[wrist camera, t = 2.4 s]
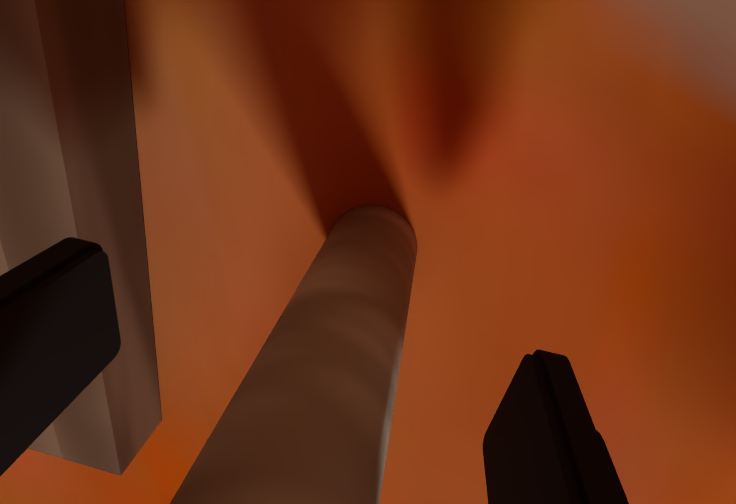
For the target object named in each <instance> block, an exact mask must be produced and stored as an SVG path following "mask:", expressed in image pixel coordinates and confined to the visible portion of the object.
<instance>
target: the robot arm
mask: <svg viewBox="0 0 736 504" xmlns="http://www.w3.org/2000/svg"><path fill="white" fill-rule="evenodd" d="M120 346H121V338H120V331H119V325H118V318H117V311H116V305H115V298H114V292H113V285H112V278H111V272H110V265H109V258H108V255H107V254H106V252H103V249H102V247H101V246H100V245H99V244H97V243H95V242H91V241H86V240H82V239H78V238H74V237H68V238H65V239H63V240H61V241H60V242H58V243H56V244H54V245H53V246H51V247H49V248H47V249H46V250H44V251H42V252H40V253H39V254H37V255H35V256H34V257H32V258H30V259H28V260H27V261H25V262H23V263H21V264H20V265H18V266H16V267H15V268H13V269H11V270H9V271H8V272H6V273H4V274H2V275H1V276H0V476H1V475H2V474H3V473H4V472H5V471H6V470H7V469H8V468H9V467H10V466H11V465H12V464H13V463H14V462H15V461H16V459H17V458H18V457H19V456H20V455H21V454H22V453H23V452H24V451H25V450H26V449H27V448H28V447H29V446H30V445H31V444H32V443H33V442H34V441H35V440H36V439H37V438H38V437H39V436H40V435H41V434H42V433H43V432H44V431H45V429H46V428H47V427H48V426H49V425H50V424H51V423H52V422H53V421H54V420H55V419H56V418H57V417H58V416H59V415H60V414H61V413H62V412H63V411H64V410H65V409H66V408H67V407H68V406H69V405H70V404H71V403H72V402H73V401H74V399H75V398H76V397H77V396H78V395H79V394H80V393H81V392H82V391H83V390H84V389H85V388H86V387H87V386H88V385H89V384H90V383H91V382H92V381H93V380H94V379H95V378H96V377H97V376H98V375H99V374H100V373H101V372H102V371H103V369H104V368H105V367H106V366H107V365H108V364H109V363H110V362H111V361H112V360H113V359H114V358H115V357H116V356H117V354H118V352H119V350H120ZM483 456H484V466H485V475H486V485H487V495H488V504H629V503H628V500H627V498H626V495H625V493H624V490H623V488H622V485H621V483H620V480H619V477H618V475H617V472H616V470H615V467H614V465H613V462H612V460H611V457H610V455H609V452H608V450H607V447H606V444H605V442H604V440H603V438H602V436H601V434H600V433H599V432H598V431H597V430H596V429H595V427H594V424H593V421H592V419H591V416H590V414H589V411H588V408H587V406H586V403H585V401H584V398H583V395H582V393H581V390H580V388H579V385H578V382H577V380H576V377H575V375H574V372H573V369H572V367H571V364H570V362H569V360H568V358H567V357H566V356H564V355H560V354H555V353H551V352H547V351H543V350H536V351H535V352H534V353H533V355H530V354H526V355H525V356H524V358H523V359H522V361H521V363H520V365H519V367H518V369H517V371H516V373H515V375H514V377H513V379H512V381H511V383H510V385H509V387H508V389H507V391H506V393H505V395H504V397H503V399H502V401H501V403H500V405H499V407H498V409H497V411H496V413H495V415H494V417H493V419H492V421H491V423H490V425H489V427H488V429H487V431H486V433H485V436H484V441H483Z"/></svg>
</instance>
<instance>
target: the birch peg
mask: <svg viewBox="0 0 736 504" xmlns="http://www.w3.org/2000/svg"><path fill="white" fill-rule="evenodd" d="M416 255H417V240H416V236H415V233H414V231H413V229H412V227H411V226H410V224H409V223H408V222H407V221H406V220H405V219H404V218H403V217H402V216H401V215H400V214H398V213H397V212H395V211H393V210H391V209H389V208H386V207H383V206H378V205H363V206H358V207H355V208H353V209H351V210H349V211H347V212H346V213H344V214H343V215H342V216H341V217H340V218H339V219H338V220H337V222H336V223H335V225H334V227H333V228H332V230H331V232H330V233H329V235H328V237H327V239H326V240H325V242H324V244H323V245H322V247H321V249H320V250H319V252H318V254H317V255H316V257H315V259H314V261H313V262H312V264H311V266H310V267H309V269H308V271H307V272H306V274H305V276H304V278H303V279H302V281H301V283H300V284H299V286H298V288H297V289H296V291H295V293H294V294H293V296H292V298H291V300H290V301H289V303H288V305H287V306H286V308H285V310H284V311H283V313H282V315H281V316H280V318H279V320H278V322H277V323H276V325H275V327H274V328H273V330H272V332H271V333H270V335H269V337H268V338H267V340H266V342H265V344H264V345H263V347H262V349H261V350H260V352H259V354H258V355H257V357H256V359H255V361H254V362H253V364H252V366H251V367H250V369H249V371H248V372H247V374H246V376H245V377H244V379H243V381H242V383H241V384H240V386H239V388H238V389H237V391H236V393H235V394H234V396H233V398H232V399H231V401H230V403H229V405H228V406H227V408H226V410H225V411H224V413H223V415H222V416H221V418H220V420H219V421H218V423H217V425H216V427H215V428H214V430H213V432H212V433H211V435H210V437H209V438H208V440H207V442H206V444H205V445H204V447H203V449H202V450H201V452H200V454H199V455H198V457H197V459H196V460H195V462H194V464H193V466H192V467H191V469H190V471H189V472H188V474H187V476H186V477H185V479H184V481H183V482H182V484H181V486H180V488H179V489H178V491H177V493H176V494H175V496H174V498H173V499H172V501H171V503H170V504H379V502H380V495H381V488H382V482H383V475H384V468H385V462H386V455H387V448H388V442H389V435H390V428H391V422H392V415H393V408H394V402H395V395H396V388H397V382H398V375H399V368H400V362H401V355H402V348H403V342H404V335H405V328H406V322H407V315H408V308H409V302H410V295H411V288H412V282H413V275H414V268H415V262H416Z"/></svg>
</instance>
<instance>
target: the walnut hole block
mask: <svg viewBox="0 0 736 504" xmlns="http://www.w3.org/2000/svg"><path fill="white" fill-rule="evenodd" d="M68 237H74V238H78V239H82V240H86V241H91V242H95V243H97V244H99V245H100V246H101V247H102V249H103V252H106V254H107V255H108V258H109V265H110V272H111V278H112V285H113V292H114V298H115V305H116V311H117V318H118V325H119V331H120V338H121V346H120V350H119V352H118V354H117V356H116V357H115V358H114V359H113V360H112V361H111V362H110V363H109V364H108V365H107V366H106V367H105V368H104V369H103V371H102V372H101V373H100V374H99V375H98V376H97V377H96V378H95V379H94V380H93V381H92V382H91V383H90V384H89V385H88V386H87V387H86V388H85V389H84V390H83V391H82V392H81V393H80V394H79V395H78V396H77V397H76V398H75V399H74V401H73V402H72V403H71V404H70V405H69V406H68V407H67V408H66V409H65V410H64V411H63V412H62V413H61V414H60V415H59V416H58V417H57V418H56V419H55V420H54V421H53V422H52V423H51V424H50V425H49V426H48V427H47V428H46V429H45V431H44V432H43V433H42V434H41V435H40V436H39V437H38V438H37V439H36V440H35V441H34V442H33V443H32V444H31V445H30V446H29V447H28V448H29V449H32V450H35V451H39V452H42V453H46V454H49V455H52V456H56V457H59V458H63V459H66V460H69V461H73V462H76V463H80V464H83V465H86V466H90V467H93V468H97V469H100V470H103V471H107V472H110V473H114V474H117V475H120V476H121V475H122V473H123V472H124V471H125V469H126V468H127V467H128V465H129V464H130V462H131V461H132V460H133V458H134V457H135V456H136V454H137V453H138V452H139V450H140V449H141V448H142V446H143V445H144V443H145V442H146V441H147V439H148V438H149V437H150V435H151V434H152V433H153V431H154V430H155V429H156V427H157V426H158V425H159V423H160V422H161V420H162V417H161V406H160V395H159V384H158V373H157V362H156V351H155V340H154V329H153V318H152V307H151V296H150V285H149V274H148V263H147V252H146V241H145V230H144V219H143V208H142V197H141V186H140V175H139V164H138V153H137V142H136V131H135V120H134V109H133V99H132V88H131V77H130V66H129V55H128V44H127V33H126V22H125V11H124V0H0V276H1V275H2V274H4V273H6V272H8V271H9V270H11V269H13V268H15V267H16V266H18V265H20V264H21V263H23V262H25V261H27V260H28V259H30V258H32V257H34V256H35V255H37V254H39V253H40V252H42V251H44V250H46V249H47V248H49V247H51V246H53V245H54V244H56V243H58V242H60V241H61V240H63V239H65V238H68Z"/></svg>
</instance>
